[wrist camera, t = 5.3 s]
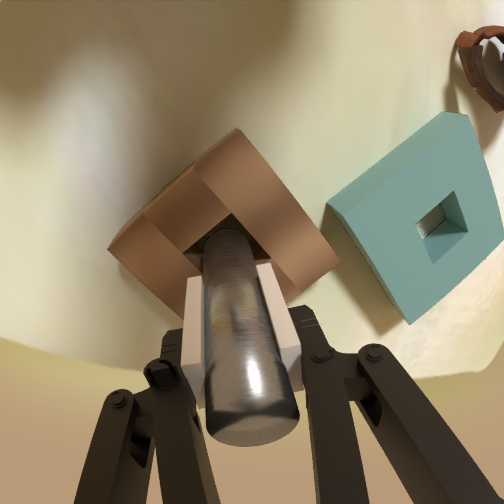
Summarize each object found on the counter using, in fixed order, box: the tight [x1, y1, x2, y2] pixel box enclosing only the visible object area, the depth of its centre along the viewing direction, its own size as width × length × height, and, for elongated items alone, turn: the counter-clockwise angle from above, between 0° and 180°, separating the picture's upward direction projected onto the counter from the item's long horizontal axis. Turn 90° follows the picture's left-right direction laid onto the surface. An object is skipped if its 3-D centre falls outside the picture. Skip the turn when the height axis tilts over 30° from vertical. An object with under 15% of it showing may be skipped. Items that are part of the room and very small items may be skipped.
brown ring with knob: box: [456, 26, 504, 113], centre depth 18 cm, size 12×10×8 cm
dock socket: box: [327, 112, 504, 325], centre depth 25 cm, size 14×14×4 cm
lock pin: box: [204, 229, 300, 447], centre depth 16 cm, size 3×3×14 cm
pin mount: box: [107, 128, 341, 320], centre depth 24 cm, size 12×12×4 cm
